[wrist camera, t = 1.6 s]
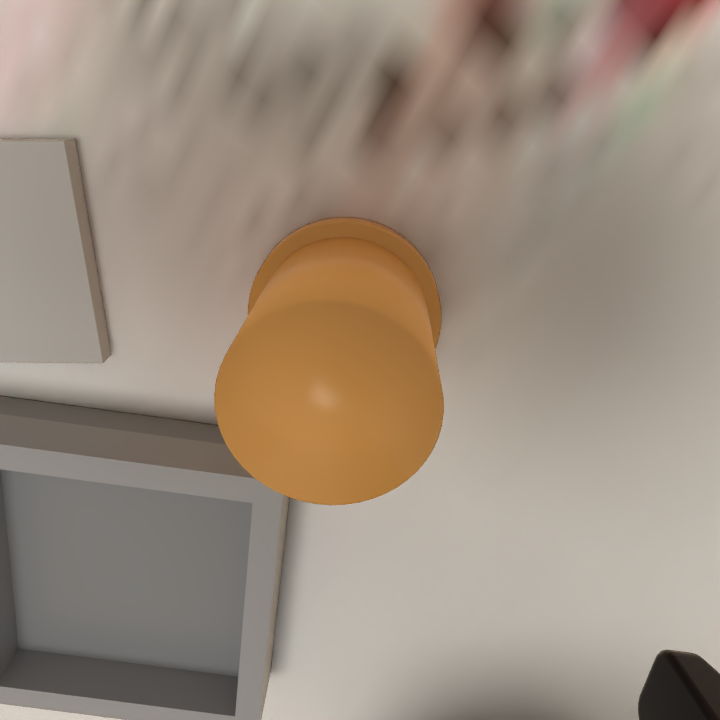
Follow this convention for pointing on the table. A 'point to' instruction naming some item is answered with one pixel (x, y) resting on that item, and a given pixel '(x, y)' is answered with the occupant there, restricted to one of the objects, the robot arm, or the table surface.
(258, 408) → the orange drawer knob
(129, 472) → the housing
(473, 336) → the table surface
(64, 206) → the lid
